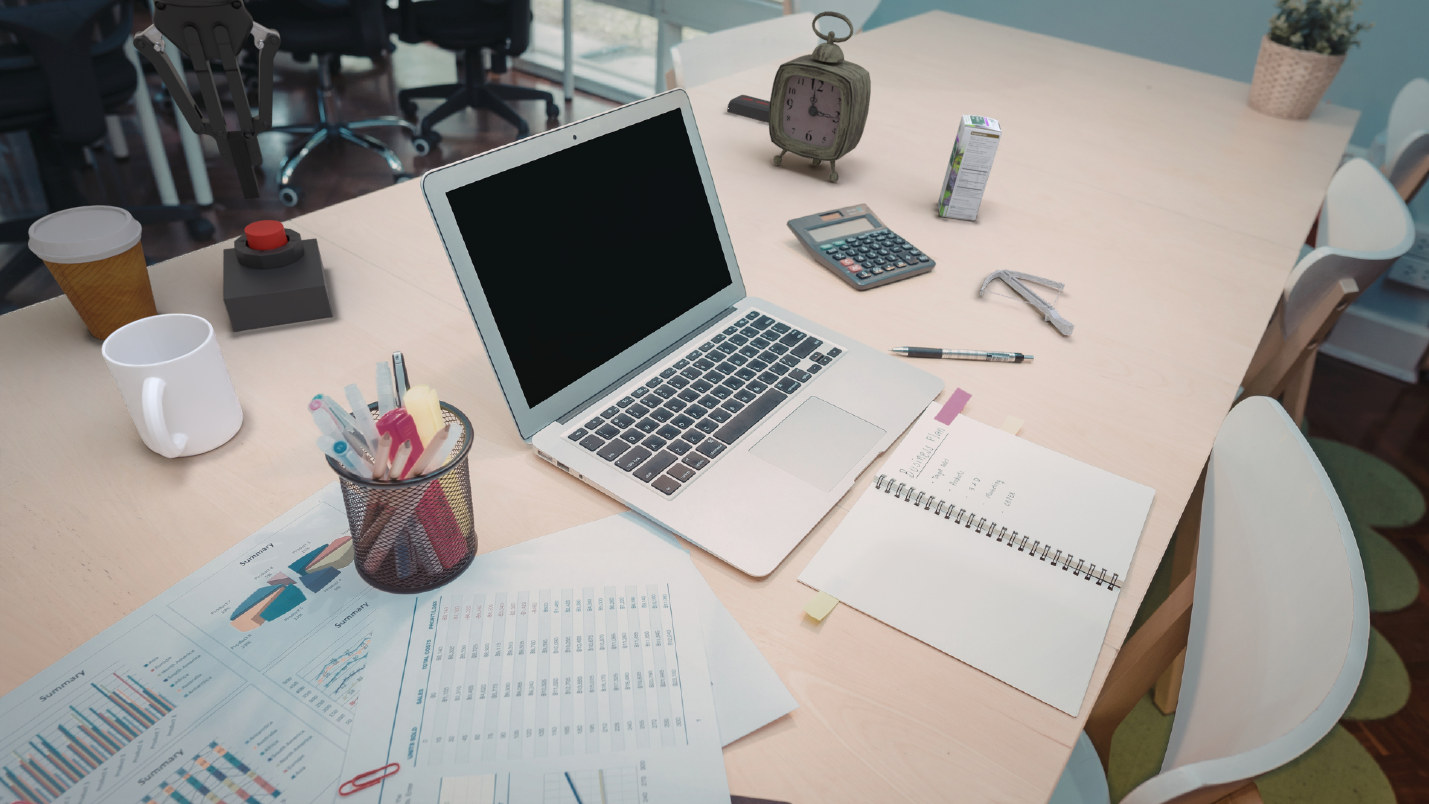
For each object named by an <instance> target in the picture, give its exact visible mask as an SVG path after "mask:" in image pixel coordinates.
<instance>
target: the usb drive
mask: <svg viewBox="0 0 1429 804" xmlns="http://www.w3.org/2000/svg"><path fill="white" fill-rule="evenodd" d="M769 107H770V100H767V99H763V98H758V97H754V96H750V95H747V94H740V95H738V96H736V97H734V98H731V100H729V102H728V104H727V110H726V111H727V113H730V114H734V115H737V116H740V117H741V116H742V117H746V118H749V119H752V120H757V121H760V122H764V123H769ZM728 108H729V109H728Z"/></svg>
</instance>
